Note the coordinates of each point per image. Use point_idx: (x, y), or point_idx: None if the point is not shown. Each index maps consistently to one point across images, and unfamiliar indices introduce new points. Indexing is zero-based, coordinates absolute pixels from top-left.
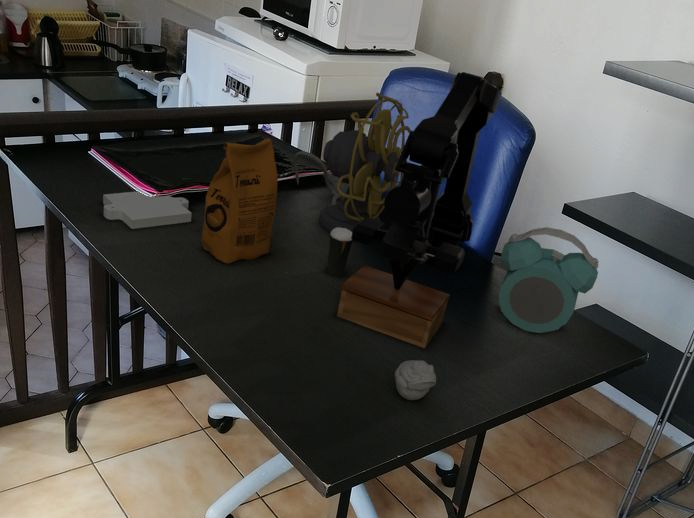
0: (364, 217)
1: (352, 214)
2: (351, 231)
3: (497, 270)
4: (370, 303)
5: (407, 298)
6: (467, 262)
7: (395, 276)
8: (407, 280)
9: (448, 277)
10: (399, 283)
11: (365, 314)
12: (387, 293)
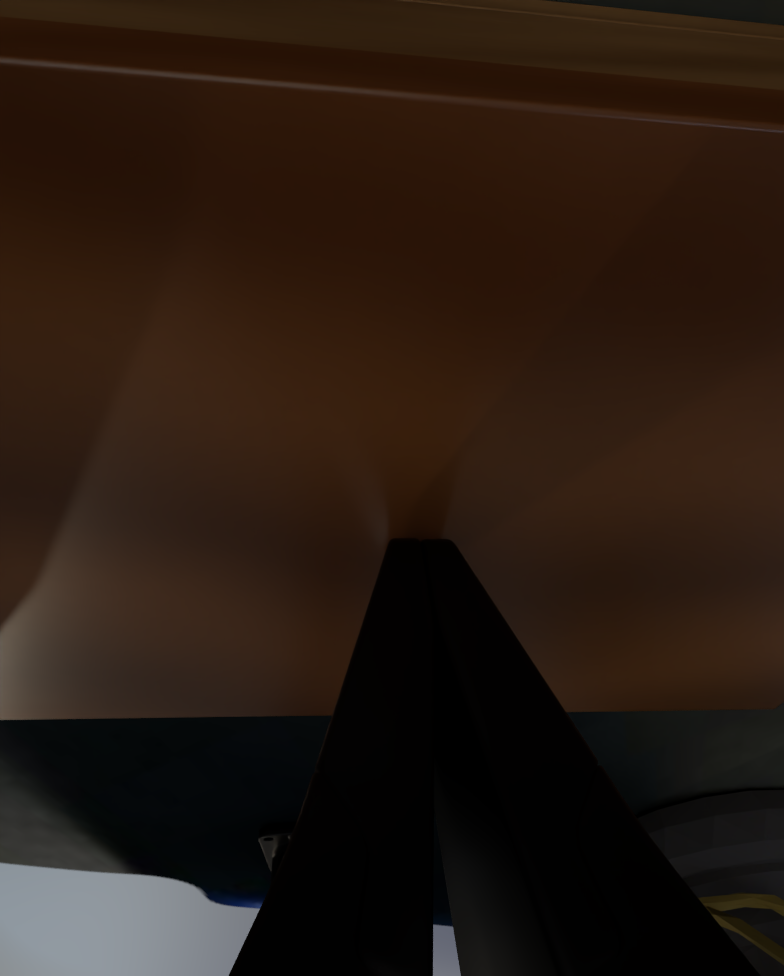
0: None
1: (746, 907)
2: (727, 835)
3: (111, 872)
4: None
5: (199, 427)
6: (230, 862)
7: (510, 702)
8: None
9: (247, 790)
10: (407, 618)
11: (688, 59)
12: (527, 384)
